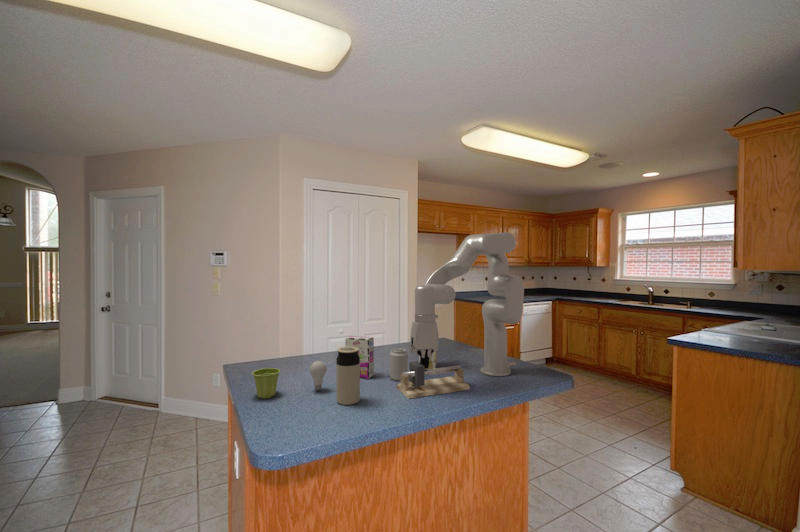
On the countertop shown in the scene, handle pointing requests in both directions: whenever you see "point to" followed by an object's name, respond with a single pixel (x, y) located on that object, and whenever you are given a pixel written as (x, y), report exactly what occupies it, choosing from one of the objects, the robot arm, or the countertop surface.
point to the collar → (417, 373)
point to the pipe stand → (433, 385)
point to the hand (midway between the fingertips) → (424, 367)
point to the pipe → (434, 371)
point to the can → (398, 363)
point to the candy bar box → (363, 354)
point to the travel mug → (348, 375)
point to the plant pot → (266, 382)
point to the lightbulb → (318, 373)
